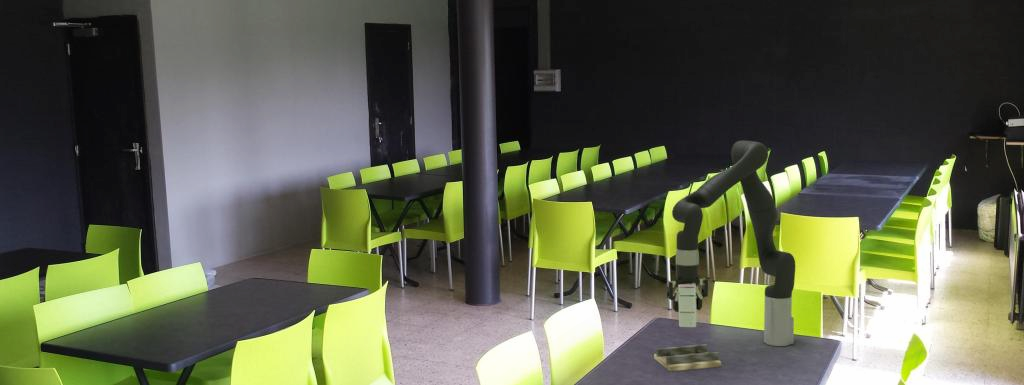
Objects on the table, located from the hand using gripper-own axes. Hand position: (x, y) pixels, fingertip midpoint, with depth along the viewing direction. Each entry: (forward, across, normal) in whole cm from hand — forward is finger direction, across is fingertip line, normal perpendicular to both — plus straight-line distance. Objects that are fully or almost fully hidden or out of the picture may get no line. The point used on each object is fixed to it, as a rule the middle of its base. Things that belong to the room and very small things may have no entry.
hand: (687, 310), depth 297 cm
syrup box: (+5, 0, 0) cm, 5 cm away
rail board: (+18, 0, 0) cm, 18 cm away
